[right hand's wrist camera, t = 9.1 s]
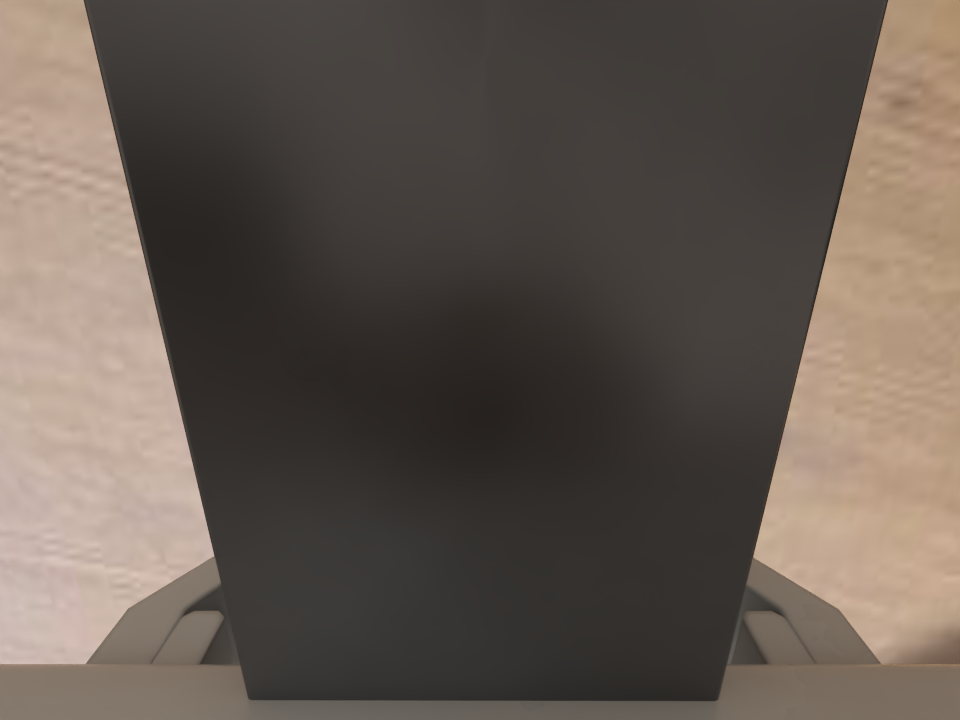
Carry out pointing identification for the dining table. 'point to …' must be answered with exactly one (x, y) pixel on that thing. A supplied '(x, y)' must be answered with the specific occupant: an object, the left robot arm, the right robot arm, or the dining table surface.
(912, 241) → the dining table surface
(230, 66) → the bar
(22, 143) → the dining table surface
